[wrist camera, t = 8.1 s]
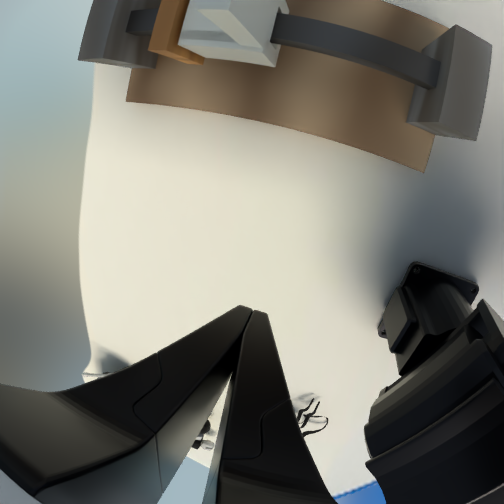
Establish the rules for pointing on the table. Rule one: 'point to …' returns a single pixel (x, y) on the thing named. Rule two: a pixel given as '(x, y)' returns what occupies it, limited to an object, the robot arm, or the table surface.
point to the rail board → (311, 72)
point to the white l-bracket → (232, 29)
